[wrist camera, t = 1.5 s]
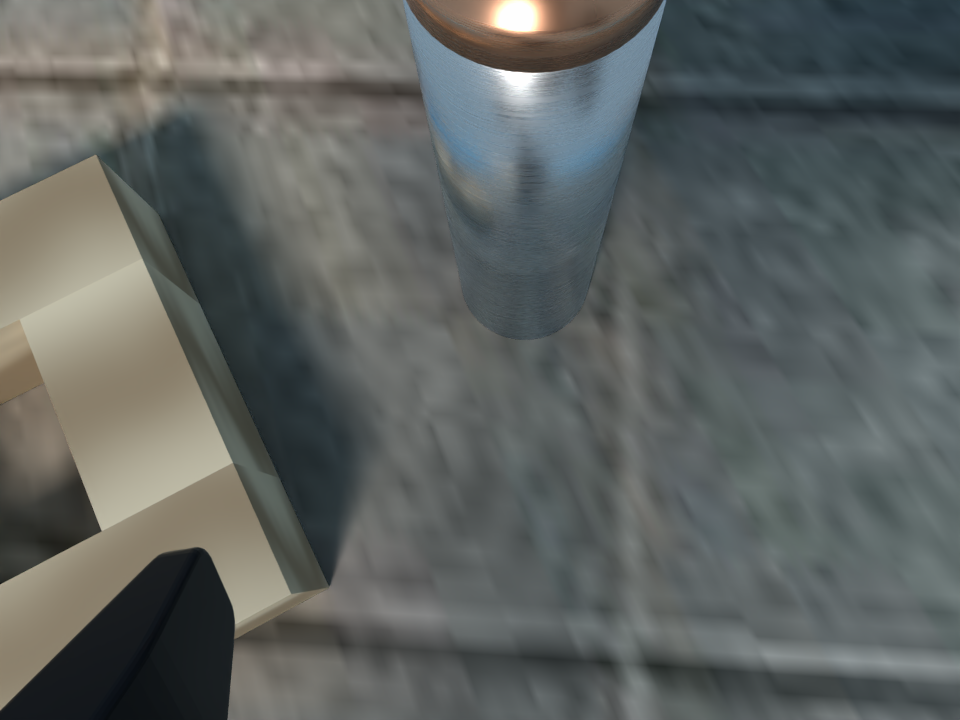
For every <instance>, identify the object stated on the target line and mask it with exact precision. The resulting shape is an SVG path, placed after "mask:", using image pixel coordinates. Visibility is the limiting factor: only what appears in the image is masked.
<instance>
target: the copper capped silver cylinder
mask: <svg viewBox="0 0 960 720" xmlns="http://www.w3.org/2000/svg"><path fill="white" fill-rule="evenodd" d="M403 3H404V8H405V12H406V17H407V22H408V27H409V32H410V37H411V42H412V47H413V52H414V57H415V62H416V66H417V71H418V76H419V81H420V86H421V91H422V96H423V101H424V106H425V111H426V115H427V120H428V125H429V130H430V135H431V140H432V145H433V150H434V155H435V160H436V165H437V169H438V174H439V179H440V184H441V189H442V194H443V199H444V204H445V209H446V214H447V218H448V223H449V228H450V233H451V238H452V243H453V248H454V253H455V258H456V263H457V268H458V272H459V277H460V282H461V287H462V292H463V296H464V299H465V302H466V304H467V306H468V308H469V309H470V311H471V312H472V314H473V315H474V316H475V318H476V319H477V320H478V321H479V322H480V323H481V324H482V325H484V326H485V327H486V328H488V329H489V330H491V331H493V332H495V333H497V334H499V335H501V336H504V337H507V338H512V339H520V340H531V339H538V338H542V337H545V336H548V335H551V334H553V333H555V332H557V331H559V330H560V329H562V328H563V327H565V326H566V325H567V324H568V323H570V322H571V320H572V319H573V318H574V317H575V316H576V315H577V313H578V312H579V311H580V309H581V307H582V305H583V303H584V301H585V298H586V295H587V291H588V288H589V284H590V280H591V277H592V273H593V269H594V265H595V262H596V258H597V254H598V251H599V247H600V243H601V240H602V236H603V232H604V229H605V225H606V221H607V217H608V214H609V210H610V206H611V203H612V199H613V195H614V192H615V188H616V184H617V181H618V177H619V173H620V169H621V166H622V162H623V158H624V155H625V151H626V147H627V144H628V140H629V136H630V132H631V129H632V125H633V121H634V118H635V114H636V110H637V107H638V103H639V99H640V96H641V92H642V88H643V84H644V81H645V77H646V73H647V70H648V66H649V62H650V59H651V55H652V51H653V48H654V44H655V40H656V36H657V33H658V29H659V25H660V22H661V18H662V14H663V11H664V7H665V3H666V0H403Z"/></svg>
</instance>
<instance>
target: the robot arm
mask: <svg viewBox="0 0 960 720" xmlns="http://www.w3.org/2000/svg"><path fill="white" fill-rule="evenodd" d="M234 636H235V616H234V610H233V606H232V604H231V601H230V599H229V596H228V594H227V592H226V590H225V587H224V585H223V583H222V581H221V578H220V576H219V574H218V572H217V569H216V567H215V565H214V563H213V560H212V558H211V556H210V555H209V553H208V552H207V551H206V550H205V549H203V548H200V547H193V548H187V549H180V550H174V551H168V552H164V553H161V554H159V555H158V556H156V557H155V558H154V559H153V560H152V561H151V562H150V563H149V564H148V565H147V566H146V567H145V568H144V569H143V570H142V571H141V572H140V573H139V574H138V575H137V576H136V577H135V578H134V579H133V580H132V581H131V582H130V583H129V584H128V585H127V586H126V587H124V588H123V589H122V590H121V591H120V592H119V593H118V594H117V595H116V596H115V597H114V598H113V599H112V600H111V601H110V602H109V603H108V604H107V605H106V606H105V607H104V608H103V609H102V610H101V611H100V612H99V613H98V614H97V615H96V616H95V617H94V618H93V619H92V620H91V621H90V622H89V623H88V624H87V625H86V626H85V627H84V628H83V629H82V630H81V631H80V632H79V633H78V634H77V635H76V636H75V637H74V638H73V639H72V640H71V641H70V642H69V643H68V644H67V645H66V646H65V647H64V648H63V649H62V650H61V651H60V652H59V653H58V654H57V655H56V656H55V657H54V658H53V659H52V660H51V661H50V662H49V663H48V664H47V665H46V666H45V667H44V668H43V669H42V670H41V671H40V672H39V673H38V674H36V675H35V676H34V677H33V678H32V679H31V680H30V681H29V682H28V683H27V684H26V685H25V686H24V687H23V688H22V689H21V690H20V691H19V692H18V693H17V694H16V695H15V696H14V697H13V698H12V699H11V700H10V701H9V702H8V703H7V704H6V705H5V706H4V707H3V708H2V709H1V710H0V720H227V718H228V706H229V695H230V683H231V671H232V659H233V648H234Z"/></svg>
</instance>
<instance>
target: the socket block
mask: <svg viewBox="0 0 960 720" xmlns="http://www.w3.org/2000/svg"><path fill="white" fill-rule="evenodd" d="M42 383H44V384H45V386H46V389H47V391H48V394H49V396H50V399H51V402H52V404H53V407H54V409H55V412H56V414H57V417H58V420H59V422H60V425H61V427H62V430H63V432H64V435H65V438H66V440H67V443H68V445H69V448H70V451H71V453H72V456H73V458H74V461H75V463H76V466H77V469H78V471H79V474H80V476H81V479H82V481H83V484H84V487H85V489H86V492H87V494H88V497H89V499H90V502H91V505H92V507H93V510H94V512H95V515H96V517H97V520H98V523H99V525H100V528H101V530H102V531H101V532H100V533H98V534H96V535H94V536H92V537H90V538H88V539H86V540H84V541H82V542H80V543H79V544H77V545H75V546H73V547H71V548H69V549H67V550H65V551H63V552H61V553H59V554H57V555H56V556H54V557H52V558H50V559H48V560H46V561H44V562H42V563H40V564H38V565H36V566H35V567H33V568H31V569H29V570H27V571H25V572H23V573H21V574H19V575H17V576H15V577H14V578H12V579H10V580H8V581H6V582H4V583H2V584H0V710H1V709H2V708H3V707H4V706H5V705H6V704H7V703H8V702H9V701H10V700H11V699H12V698H13V697H14V696H15V695H16V694H17V693H18V692H19V691H20V690H21V689H22V688H23V687H24V686H25V685H26V684H27V683H28V682H29V681H30V680H31V679H32V678H33V677H34V676H35V675H36V674H38V673H39V672H40V671H41V670H42V669H43V668H44V667H45V666H46V665H47V664H48V663H49V662H50V661H51V660H52V659H53V658H54V657H55V656H56V655H57V654H58V653H59V652H60V651H61V650H62V649H63V648H64V647H65V646H66V645H67V644H68V643H69V642H70V641H71V640H72V639H73V638H74V637H75V636H76V635H77V634H78V633H79V632H80V631H81V630H82V629H83V628H84V627H85V626H86V625H87V624H88V623H89V622H90V621H91V620H92V619H93V618H94V617H95V616H96V615H97V614H98V613H99V612H100V611H101V610H102V609H103V608H104V607H105V606H106V605H107V604H108V603H109V602H110V601H111V600H112V599H113V598H114V597H115V596H116V595H117V594H118V593H119V592H120V591H121V590H122V589H123V588H124V587H126V586H127V585H128V584H129V583H130V582H131V581H132V580H133V579H134V578H135V577H136V576H137V575H138V574H139V573H140V572H141V571H142V570H143V569H144V568H145V567H146V566H147V565H148V564H149V563H150V562H151V561H152V560H153V559H154V558H155V557H156V556H158V555H159V554H161V553H164V552H168V551H174V550H180V549H187V548H193V547H200V548H203V549H205V550H206V551H207V552H208V553H209V555H210V556H211V558H212V560H213V563H214V565H215V567H216V569H217V572H218V574H219V576H220V578H221V581H222V583H223V585H224V587H225V590H226V592H227V594H228V596H229V599H230V601H231V604H232V606H233V610H234V616H235V636H234V639H236V638H237V637H239V636H241V635H243V634H245V633H247V632H249V631H250V630H252V629H254V628H256V627H258V626H260V625H261V624H263V623H265V622H267V621H269V620H271V619H272V618H274V617H276V616H278V615H280V614H282V613H284V612H285V611H287V610H289V609H291V608H293V607H295V606H296V605H298V604H300V603H302V602H304V601H306V600H308V599H309V598H311V597H313V596H315V595H317V594H319V593H320V592H322V591H324V590H326V589H328V588H329V586H328V583H327V581H326V579H325V577H324V575H323V572H322V570H321V568H320V566H319V564H318V561H317V559H316V557H315V555H314V553H313V551H312V548H311V546H310V544H309V542H308V540H307V537H306V535H305V533H304V531H303V529H302V527H301V524H300V522H299V520H298V518H297V516H296V513H295V511H294V509H293V507H292V505H291V502H290V500H289V498H288V496H287V494H286V492H285V489H284V487H283V485H282V483H281V481H280V478H279V476H278V474H277V472H276V470H275V468H274V465H273V463H272V461H271V459H270V457H269V454H268V452H267V450H266V448H265V446H264V443H263V441H262V439H261V437H260V435H259V433H258V430H257V428H256V426H255V424H254V422H253V419H252V417H251V415H250V413H249V411H248V409H247V406H246V404H245V402H244V400H243V398H242V395H241V393H240V391H239V389H238V387H237V384H236V382H235V380H234V378H233V376H232V374H231V371H230V369H229V367H228V365H227V363H226V360H225V358H224V356H223V354H222V352H221V350H220V347H219V345H218V343H217V341H216V339H215V336H214V334H213V332H212V330H211V328H210V325H209V323H208V321H207V319H206V317H205V315H204V312H203V310H202V308H201V306H200V304H199V301H198V299H197V297H196V295H195V293H194V291H193V288H192V286H191V284H190V282H189V280H188V277H187V275H186V273H185V271H184V269H183V266H182V264H181V262H180V260H179V258H178V256H177V253H176V251H175V249H174V247H173V245H172V242H171V240H170V238H169V236H168V234H167V232H166V229H165V227H164V225H163V223H162V221H161V218H160V216H159V214H158V213H157V212H156V211H155V210H154V209H153V208H152V207H151V206H150V205H148V204H147V203H146V202H145V201H144V200H143V199H142V198H141V197H140V196H139V195H138V194H137V193H136V192H135V191H134V190H133V189H132V188H131V187H130V186H129V185H128V184H126V183H125V182H124V181H123V180H122V179H121V178H120V177H119V176H118V175H117V174H116V173H115V172H114V171H113V170H112V169H111V168H110V167H109V166H108V165H107V164H105V163H104V162H103V161H102V160H101V159H100V158H99V157H98V156H97V155H94V156H92V157H90V158H88V159H86V160H83V161H81V162H79V163H77V164H75V165H73V166H71V167H69V168H67V169H65V170H63V171H61V172H59V173H57V174H54V175H52V176H50V177H48V178H46V179H44V180H42V181H40V182H38V183H36V184H34V185H32V186H30V187H28V188H25V189H23V190H21V191H19V192H17V193H15V194H13V195H11V196H9V197H7V198H5V199H3V200H1V201H0V405H1V404H3V403H5V402H7V401H9V400H11V399H13V398H15V397H17V396H19V395H21V394H23V393H25V392H27V391H29V390H31V389H33V388H34V387H36V386H38V385H40V384H42Z"/></svg>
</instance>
